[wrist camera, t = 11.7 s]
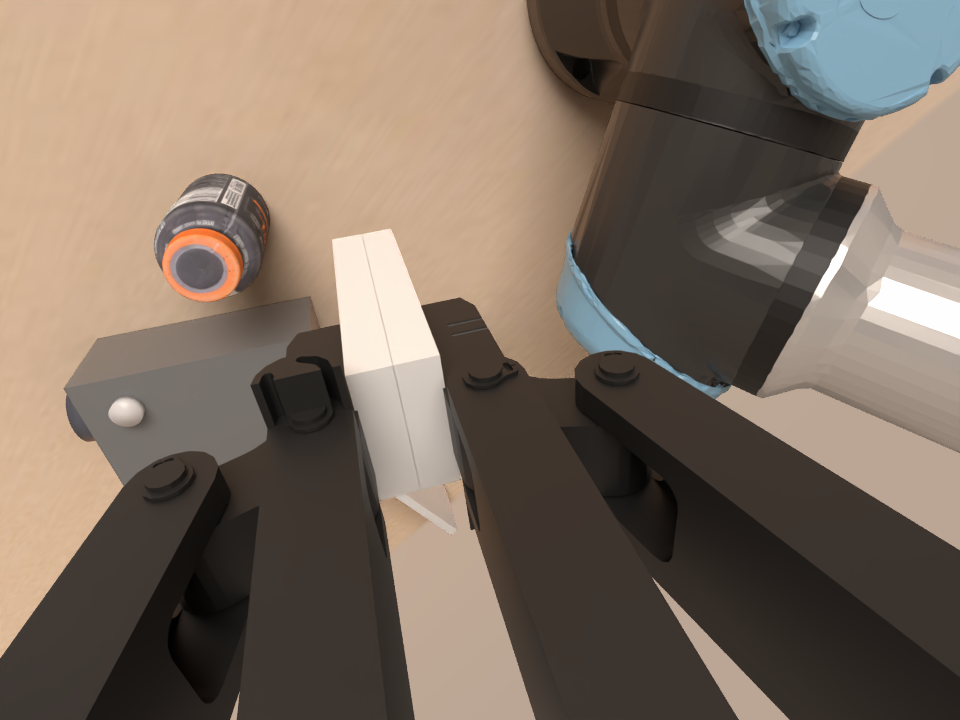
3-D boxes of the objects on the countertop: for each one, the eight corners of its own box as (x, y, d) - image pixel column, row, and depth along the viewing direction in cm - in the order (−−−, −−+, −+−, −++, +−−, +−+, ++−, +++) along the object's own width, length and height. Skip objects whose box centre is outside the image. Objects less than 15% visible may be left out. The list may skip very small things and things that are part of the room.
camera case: (310, 296, 45) (309, 342, 39) (342, 405, 51) (346, 461, 44) (74, 343, 42) (31, 401, 36) (137, 453, 48) (110, 519, 42)
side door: (331, 416, 51) (333, 458, 46) (341, 407, 51) (344, 449, 46) (438, 493, 59) (449, 536, 54) (446, 486, 59) (459, 529, 54)
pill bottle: (266, 259, 43) (253, 326, 33) (180, 246, 41) (140, 313, 31) (274, 181, 40) (262, 229, 31) (181, 163, 38) (139, 208, 29)
